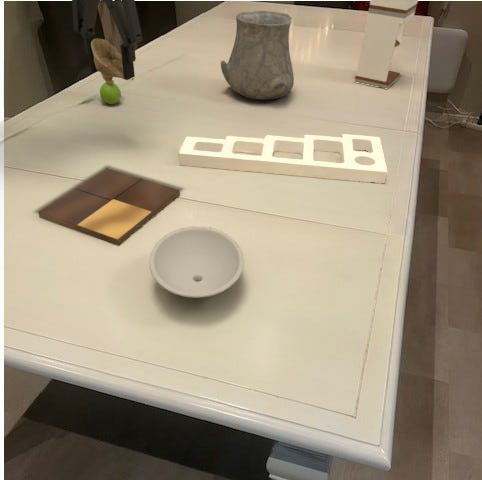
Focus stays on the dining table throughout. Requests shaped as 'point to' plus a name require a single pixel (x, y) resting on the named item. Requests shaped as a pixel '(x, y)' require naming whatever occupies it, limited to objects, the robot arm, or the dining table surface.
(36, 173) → the dining table surface
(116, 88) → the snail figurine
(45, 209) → the board
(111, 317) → the dining table surface
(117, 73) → the fossil
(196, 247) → the dish
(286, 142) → the holder
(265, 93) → the vessel
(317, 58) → the dining table surface
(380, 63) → the white square pillar
